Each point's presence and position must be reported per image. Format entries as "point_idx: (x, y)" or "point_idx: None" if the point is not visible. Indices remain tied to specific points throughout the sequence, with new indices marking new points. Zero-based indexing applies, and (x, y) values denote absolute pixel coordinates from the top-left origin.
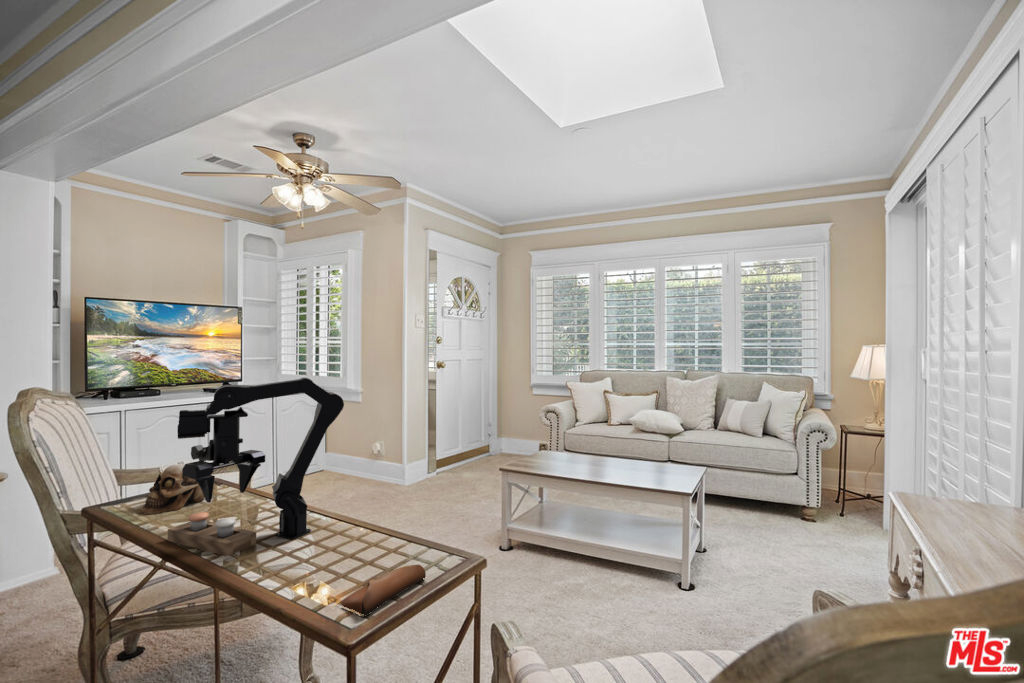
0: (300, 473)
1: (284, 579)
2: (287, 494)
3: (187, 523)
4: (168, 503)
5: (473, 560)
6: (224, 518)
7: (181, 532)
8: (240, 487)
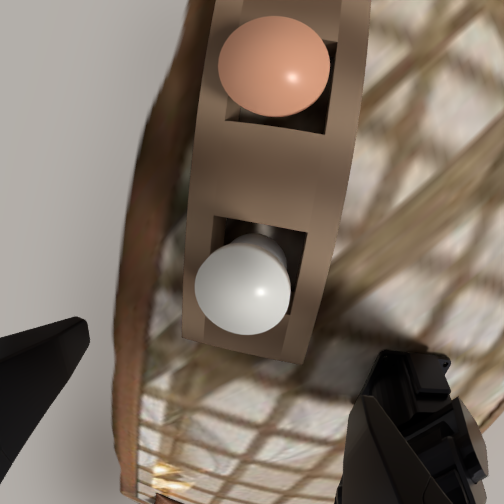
0: None
1: (171, 451)
2: None
3: None
4: None
5: None
6: (271, 261)
7: (205, 61)
8: (360, 430)
